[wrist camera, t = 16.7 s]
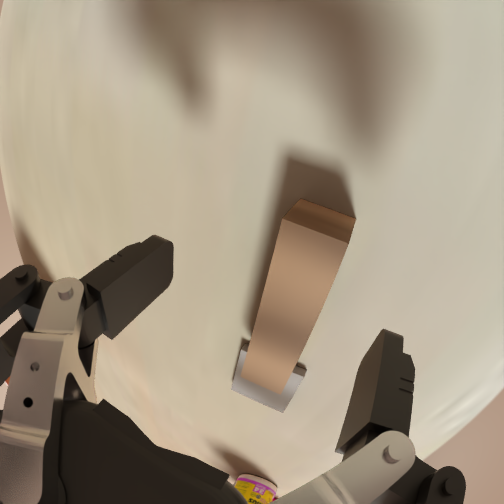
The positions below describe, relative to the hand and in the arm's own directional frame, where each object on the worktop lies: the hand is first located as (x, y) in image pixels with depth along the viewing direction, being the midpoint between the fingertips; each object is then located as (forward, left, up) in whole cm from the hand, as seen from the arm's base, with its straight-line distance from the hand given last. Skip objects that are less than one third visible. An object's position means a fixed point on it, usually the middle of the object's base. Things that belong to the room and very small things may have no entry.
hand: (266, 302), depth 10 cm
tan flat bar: (+8, +1, -7) cm, 10 cm away
